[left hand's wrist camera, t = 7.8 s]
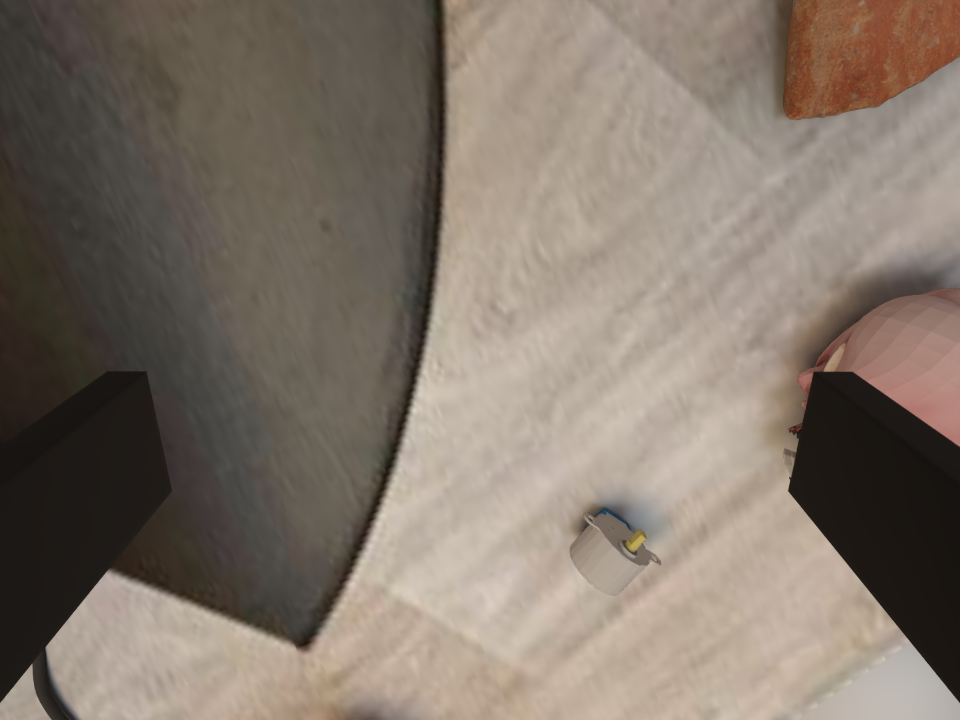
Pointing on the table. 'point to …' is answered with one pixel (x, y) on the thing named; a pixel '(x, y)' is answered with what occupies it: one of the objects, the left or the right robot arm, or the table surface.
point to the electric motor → (610, 553)
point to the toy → (902, 358)
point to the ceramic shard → (864, 51)
